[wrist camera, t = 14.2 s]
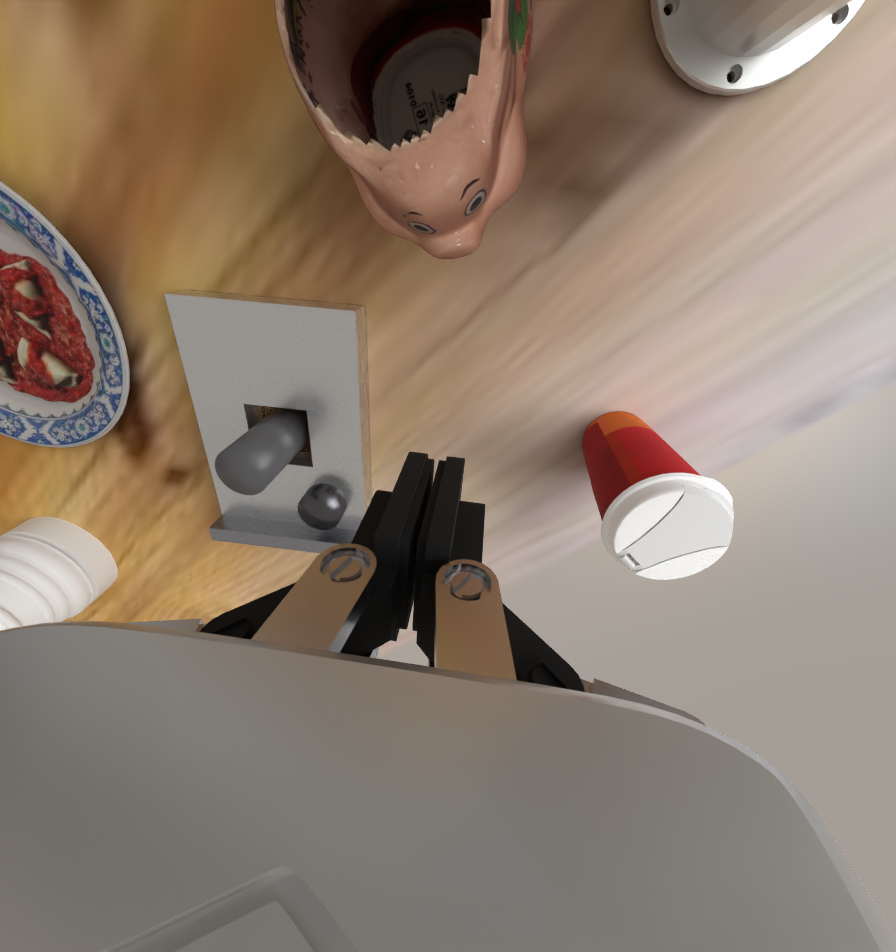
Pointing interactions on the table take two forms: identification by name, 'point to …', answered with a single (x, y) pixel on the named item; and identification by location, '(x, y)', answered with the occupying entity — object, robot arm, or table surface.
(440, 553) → the robot arm
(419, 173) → the decorative planter
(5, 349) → the ceramic plate
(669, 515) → the coffee cup
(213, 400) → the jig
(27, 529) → the honey pot
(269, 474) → the gray cylinder
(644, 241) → the table surface
